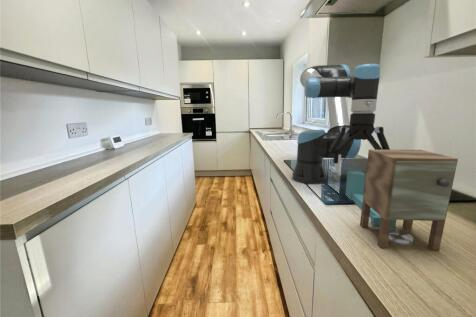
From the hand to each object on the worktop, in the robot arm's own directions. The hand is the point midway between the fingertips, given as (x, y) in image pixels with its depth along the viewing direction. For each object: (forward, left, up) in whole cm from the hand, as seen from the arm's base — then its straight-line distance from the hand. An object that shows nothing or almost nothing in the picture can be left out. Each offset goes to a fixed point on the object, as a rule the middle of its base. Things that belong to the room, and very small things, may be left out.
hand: (356, 172), depth 80 cm
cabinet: (+26, 0, -10) cm, 28 cm away
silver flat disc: (+27, 0, -10) cm, 29 cm away
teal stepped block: (+9, 0, -10) cm, 13 cm away
